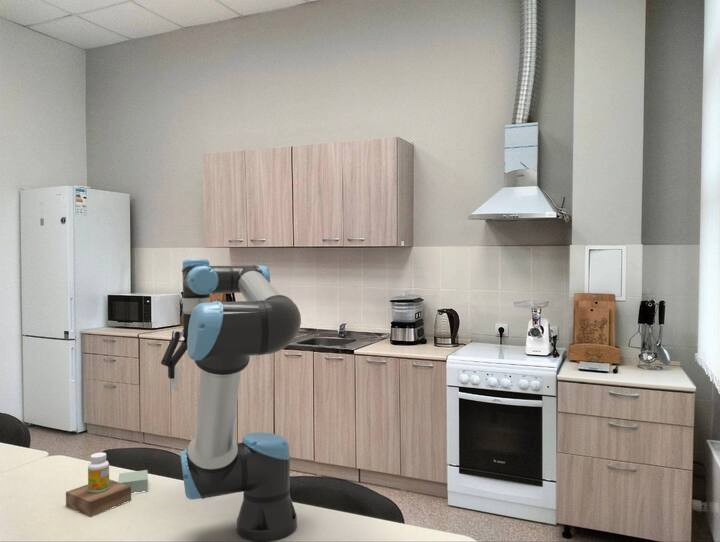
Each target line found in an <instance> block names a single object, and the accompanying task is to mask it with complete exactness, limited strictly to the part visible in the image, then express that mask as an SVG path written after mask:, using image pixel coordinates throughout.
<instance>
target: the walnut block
mask: <svg viewBox="0 0 720 542" xmlns="http://www.w3.org/2000/svg"><path fill="white" fill-rule="evenodd" d="M130 500H131V501H132V494H131V487H130V486H128V485H125V484H122V483H119V482H118V481H115V480H112V479H110V478H109V488H108V489H107V490H105V491H103V492H98V493H92V492H89V491H88V483H87V484H84V485H81V486H78V487H76V488H73V489H70V490H68V491H66V492H65V507H66V506H67V507H66V508H69V509H71V508H72V509H71V510H73V509H74V511H76V510H77V511H76V512H78V511H79V512H78V513H81V514H83V515H85V514H86V515H85V516H88V517H91V518H92V517H94V515H95V516H96V515H100V514H101V512H102V513H104V512H106V511H105V510H107V509H109V510H111V509H110V508H112V507H114V506H117V505H119V504H122V503H124V502H127V501H129V502H131V501H130ZM127 503H128V502H127ZM124 504H125V503H124ZM122 505H123V504H122ZM119 506H120V505H119ZM117 507H118V506H117ZM114 508H115V507H114ZM112 509H113V508H112ZM103 511H104V512H103ZM107 511H108V510H107ZM99 513H100V514H99Z"/></svg>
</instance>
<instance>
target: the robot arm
mask: <svg viewBox="0 0 720 542" xmlns="http://www.w3.org/2000/svg"><path fill="white" fill-rule="evenodd" d="M181 272H182V311H183V314H182V327H183V328H182V331H177V330H173V331H172V333H171V338H170V341H169V344H168V346H167V348H166V350H165V352H164V355H163V357H162V359H161V361H160V363H161V365H162V366H166V367H167V377H168V379H170V386H171V387H170V389H171V390H172V391H175V392H177V391H179V374H178V373H179V370H178V369H179V368H178V366H177V363H178V362H179V361H180V360H181V358H182V357H183V356H184V354H185V353H186V351H187V354H188V358H189V359H190V360H193V361H194V364H195V365H196V367H197V368H198V369H199V370H200V372H199V385H198V396H197V397H198V398H197V411H196V423H195V424H196V426H195V427H196V428H195V435H194V437H193V438H192V439H191V440H190V442H189V444H188V446H187V447H188V448H185V449H184V450H181V451H180V453H179V455H180V461H181V470H182V477H183V485H184V491H185V492H184V493H185V497H186V498H187V499H188V500H200V499H201V500H204V499H205V500H206V499H207V498H215V497H220V496H225V495H226V496H227V495H231V494H235V493H236V494H237V493H243V499H242V502H241V505H240V508H239V511H238V515H237V519H236V533H237V534H238V536H240V537H241V538H243V539H246V540H248V541H254V542H271V541H276V540H279V539H283V538H285V537H288V536H290V535H291V534H292V533H293V532H294V531H295V530H296V529H297V527H298V516H297V513H296V509H295V506H294V504H293V500H292V498H291V494H290V493H291V491H290V488H291V487H290V485H291V483H290V482H291V481H290V480H291V479H290V475H291V474H290V473H291V471H290V466H291V465H290V463H291V462H290V461H291V453H290V444H289V441H288V440H287V439H286V438H285V437H283V436H281V435H279V434H275V433H269V432H250V433H247V434H245V435H243V437H242V439H241V441H242V442H237V441H236V439H235V438H234V432H235V423H236V416H237V415H236V414H237V406H238V398H239V396H238V395H239V391H240V390H239V389H240V380H241V373H242V372H243V371H244V370H246V368H247V367H248V366H249V363H250V358H251V356H252V357H253V356H262V355H263V356H264V355H271V354H275V353H277V352H280V351H282V350H284V349H285V348H286V347H287V346H289V345H290V344H291V343H292V342H293V341H294V340H295V339H296V337H297V336H298V333H299V331H300V328H301V324H302V322H301V321H302V318H301V316H302V315H301V312H300V310H299V307H298V305H297V304H296V303H295V302H294V301H293V300H292V299H291V298H290V297H288V296H286V295H284V294H283V295H282V294H280V292H279V291H278V290H277V288H275V287H274V286H273V285H272V284H271V274H270V270H269V267H267V266H266V265H257V264H253V265H210V260H209V259H208V258H207V259H206V258H186V259H183V261H182V269H181ZM238 293H239V294H240V293H241V295H242V296H243V298H244V299H245V300H241V301H238V300H237V301H219V300H214V301H212V302H211V294H238ZM181 338H184V339H183V340H182V342H181V343H180V345H179V342H180V340H181ZM178 345H179V347H178V348H177V346H178ZM176 349H177V350H176Z"/></svg>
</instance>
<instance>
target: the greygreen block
mask: <svg viewBox="0 0 720 542" xmlns="http://www.w3.org/2000/svg"><path fill="white" fill-rule="evenodd" d="M148 476H149V475H148V469H143V470H137V471H135V470H134V471H129V472H121V473H120V472H119V474H118V481H117V482H119V483H122V484H125V485H128V486H130V487H131V493H134V492H142V491H148V490H149V487H148V485H149V484H148V483H149V481H148V480H149V479H148Z"/></svg>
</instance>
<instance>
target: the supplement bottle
mask: <svg viewBox="0 0 720 542" xmlns="http://www.w3.org/2000/svg"><path fill="white" fill-rule="evenodd" d="M90 461H91V462H89V464H88V465H87V484H88V491H89V492H92V493H98V492H103V491H105V490H107V489H108V488H109V479H110V463H109V461H108V460H107V453H106V452H96V453H95V452H94V453H93V454H91V455H90Z"/></svg>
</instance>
